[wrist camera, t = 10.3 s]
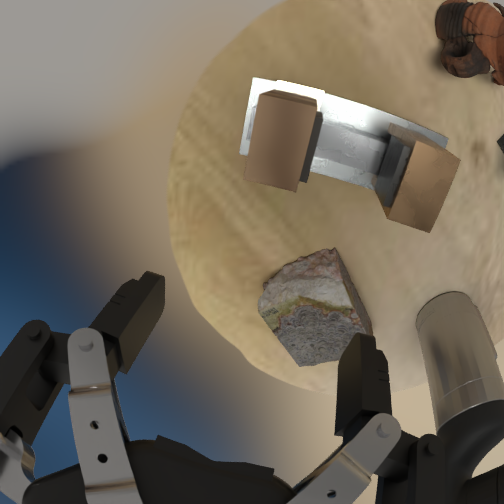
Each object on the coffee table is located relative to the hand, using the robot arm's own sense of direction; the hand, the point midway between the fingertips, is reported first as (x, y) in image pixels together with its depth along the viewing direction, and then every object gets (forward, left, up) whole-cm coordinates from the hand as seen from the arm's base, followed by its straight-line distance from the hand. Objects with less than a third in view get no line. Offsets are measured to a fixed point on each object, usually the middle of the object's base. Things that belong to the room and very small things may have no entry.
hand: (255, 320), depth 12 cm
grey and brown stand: (-4, -4, -22) cm, 23 cm away
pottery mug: (-14, -19, -22) cm, 32 cm away
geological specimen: (-8, +17, -23) cm, 29 cm away
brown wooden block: (+1, -4, -21) cm, 21 cm away
